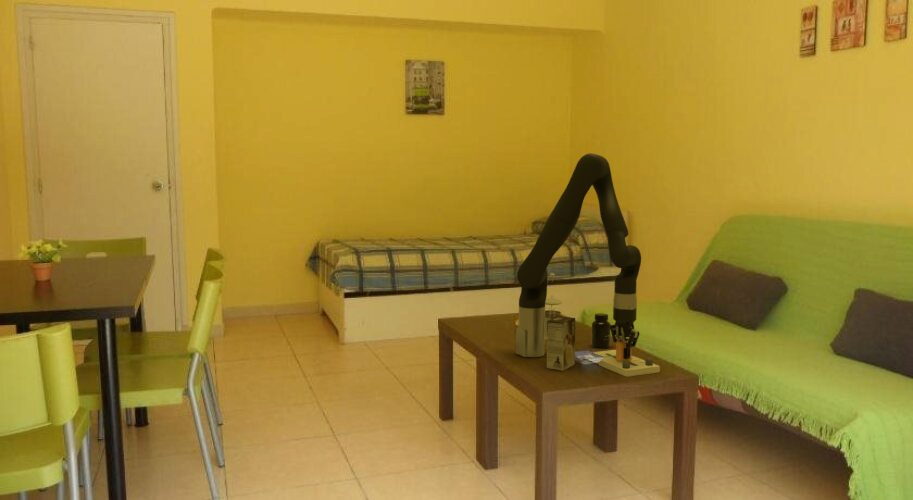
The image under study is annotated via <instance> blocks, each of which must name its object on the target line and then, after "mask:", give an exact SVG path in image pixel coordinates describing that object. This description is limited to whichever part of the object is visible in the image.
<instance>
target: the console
mask: <svg viewBox="0 0 913 500" xmlns="http://www.w3.org/2000/svg"><path fill="white" fill-rule="evenodd" d="M593 353H595V354H598V355H601V356H603V357H604V359H602V360H601V361H600V362H599V365H598V366H600V367H602V368H604V369H607V370H609V371H612V372H615V373H616V374H619V375H621V376H624V377H626V378H629V377H636V376H642V375H647V374H648V375H649V374H651V375H652V374H655V373H661V372H660V371H661V365H658V364H656V363H654V359H653V357H645V360H644V359H642V358H640V357H637V356H634V355H632V360H630V361H622V362H620V361H618V360H616V349H610V350H602V351H601V350H600V351H593Z"/></svg>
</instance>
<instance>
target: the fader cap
mask: <svg viewBox="0 0 913 500" xmlns="http://www.w3.org/2000/svg"><path fill="white" fill-rule="evenodd" d="M627 344H628V341H627ZM615 350H616V360H618V361H620V362H622V361H630V360H632V356H633V355H632V354H633V353H632V352H633V351H632V350H633V347H631V351H630V358H629V359H624V358H623V352H624V342H623V341H621V342H615Z"/></svg>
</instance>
